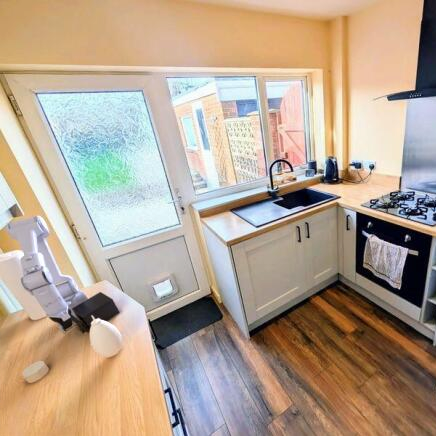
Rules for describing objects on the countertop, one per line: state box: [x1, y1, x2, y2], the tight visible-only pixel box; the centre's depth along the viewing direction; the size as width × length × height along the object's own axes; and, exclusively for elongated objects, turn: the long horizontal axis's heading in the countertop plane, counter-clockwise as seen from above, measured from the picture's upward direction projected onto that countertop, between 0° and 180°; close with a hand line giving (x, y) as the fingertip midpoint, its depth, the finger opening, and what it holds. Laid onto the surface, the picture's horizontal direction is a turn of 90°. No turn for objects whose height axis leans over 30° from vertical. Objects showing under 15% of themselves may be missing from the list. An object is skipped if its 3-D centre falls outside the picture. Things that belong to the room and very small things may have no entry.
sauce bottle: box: [89, 316, 123, 358], centre depth 82 cm, size 8×8×18 cm
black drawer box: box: [72, 291, 120, 331], centre depth 101 cm, size 11×11×8 cm
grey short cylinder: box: [21, 360, 50, 384], centre depth 81 cm, size 5×5×3 cm
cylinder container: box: [0, 249, 48, 321], centre depth 103 cm, size 9×9×30 cm
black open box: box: [56, 312, 88, 336], centre depth 97 cm, size 14×9×6 cm
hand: (69, 326), depth 94 cm, fingers closed, pressing on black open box
